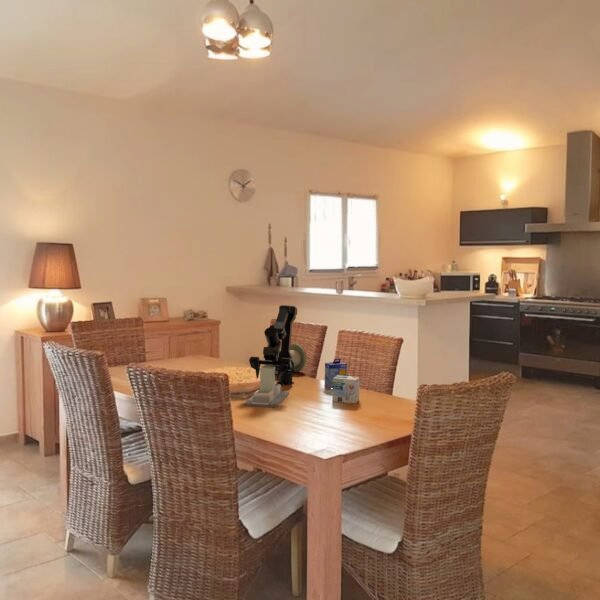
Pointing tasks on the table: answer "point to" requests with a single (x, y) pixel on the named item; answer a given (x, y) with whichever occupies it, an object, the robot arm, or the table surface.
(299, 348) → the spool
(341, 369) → the ink cartridge box
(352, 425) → the table surface
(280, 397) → the rail board
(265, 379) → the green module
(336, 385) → the light bulb box
